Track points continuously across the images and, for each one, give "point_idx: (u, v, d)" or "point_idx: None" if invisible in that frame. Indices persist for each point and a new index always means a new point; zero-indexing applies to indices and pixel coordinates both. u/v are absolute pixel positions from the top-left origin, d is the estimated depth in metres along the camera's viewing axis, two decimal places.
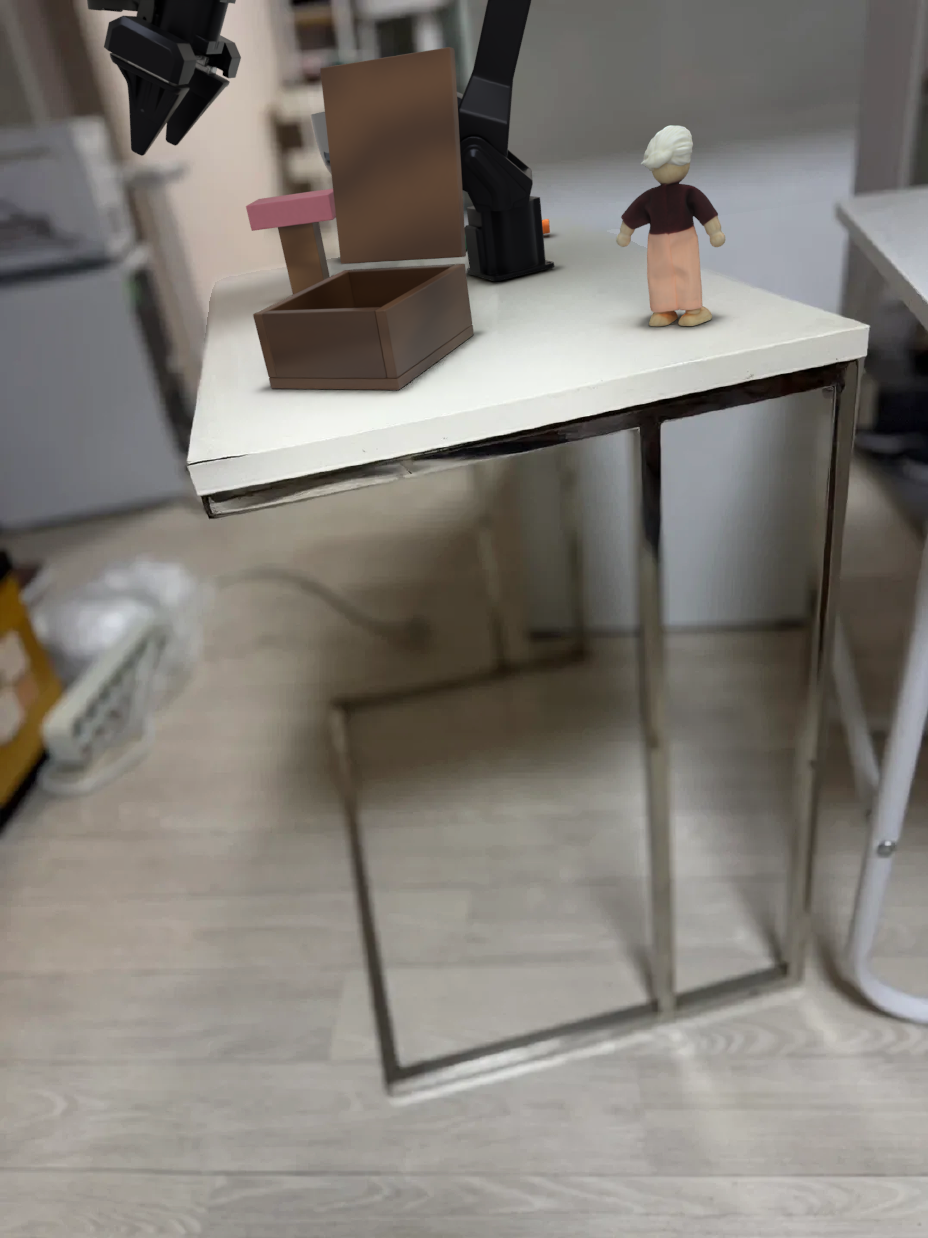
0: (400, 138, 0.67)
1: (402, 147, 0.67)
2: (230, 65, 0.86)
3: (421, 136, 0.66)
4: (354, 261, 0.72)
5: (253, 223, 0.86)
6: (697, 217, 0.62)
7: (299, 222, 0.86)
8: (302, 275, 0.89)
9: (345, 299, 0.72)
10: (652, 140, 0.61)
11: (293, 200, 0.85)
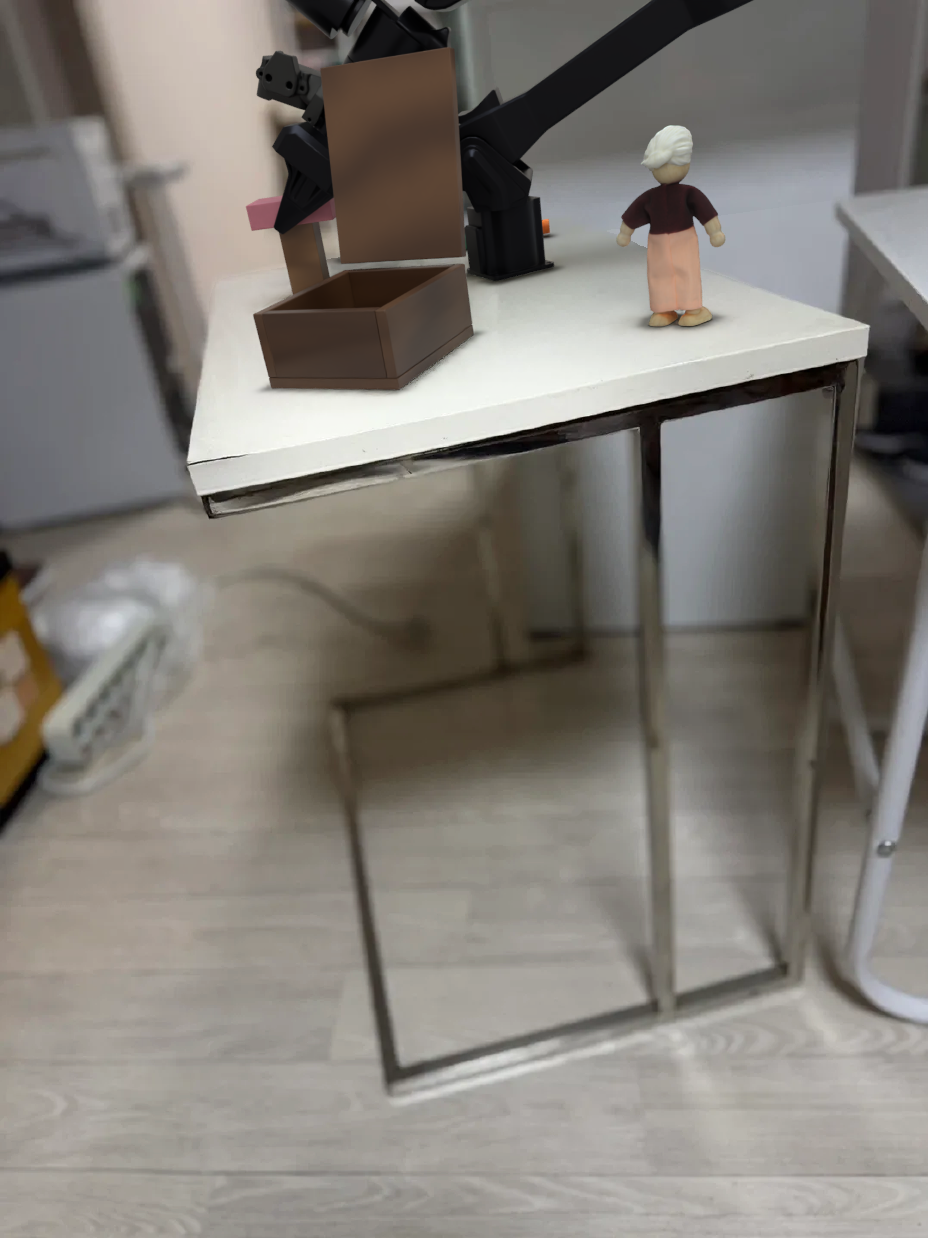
0: (400, 138, 0.67)
1: (402, 147, 0.67)
2: None
3: (421, 136, 0.66)
4: (354, 261, 0.72)
5: (253, 223, 0.86)
6: (697, 217, 0.62)
7: None
8: (302, 275, 0.89)
9: (345, 299, 0.72)
10: (652, 140, 0.61)
11: None
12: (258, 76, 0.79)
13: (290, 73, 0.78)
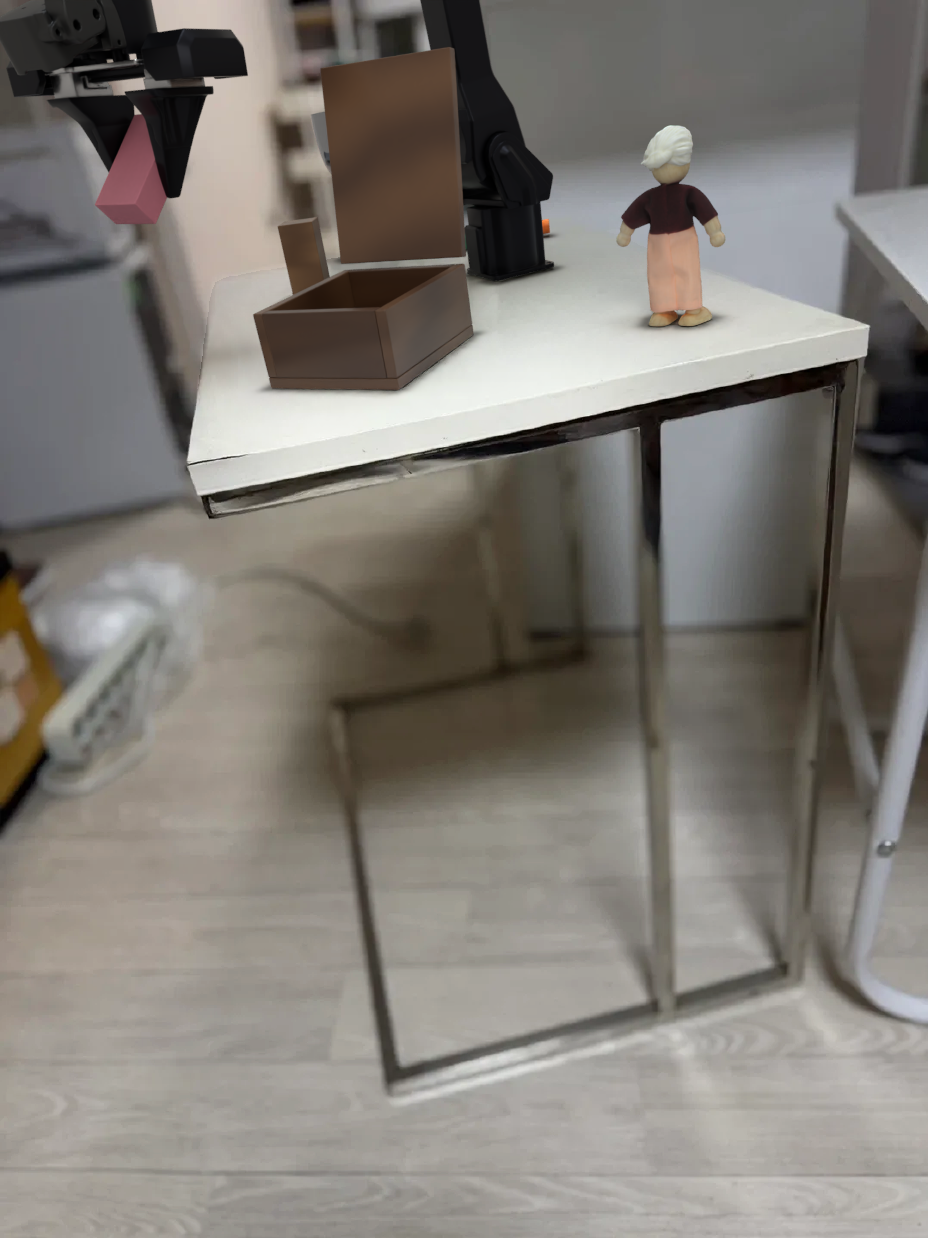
0: (400, 138, 0.67)
1: (402, 147, 0.67)
2: None
3: (421, 136, 0.66)
4: (354, 261, 0.72)
5: (151, 214, 0.67)
6: (697, 217, 0.62)
7: None
8: (302, 275, 0.89)
9: (345, 299, 0.72)
10: (652, 140, 0.61)
11: None
12: (58, 38, 0.58)
13: None
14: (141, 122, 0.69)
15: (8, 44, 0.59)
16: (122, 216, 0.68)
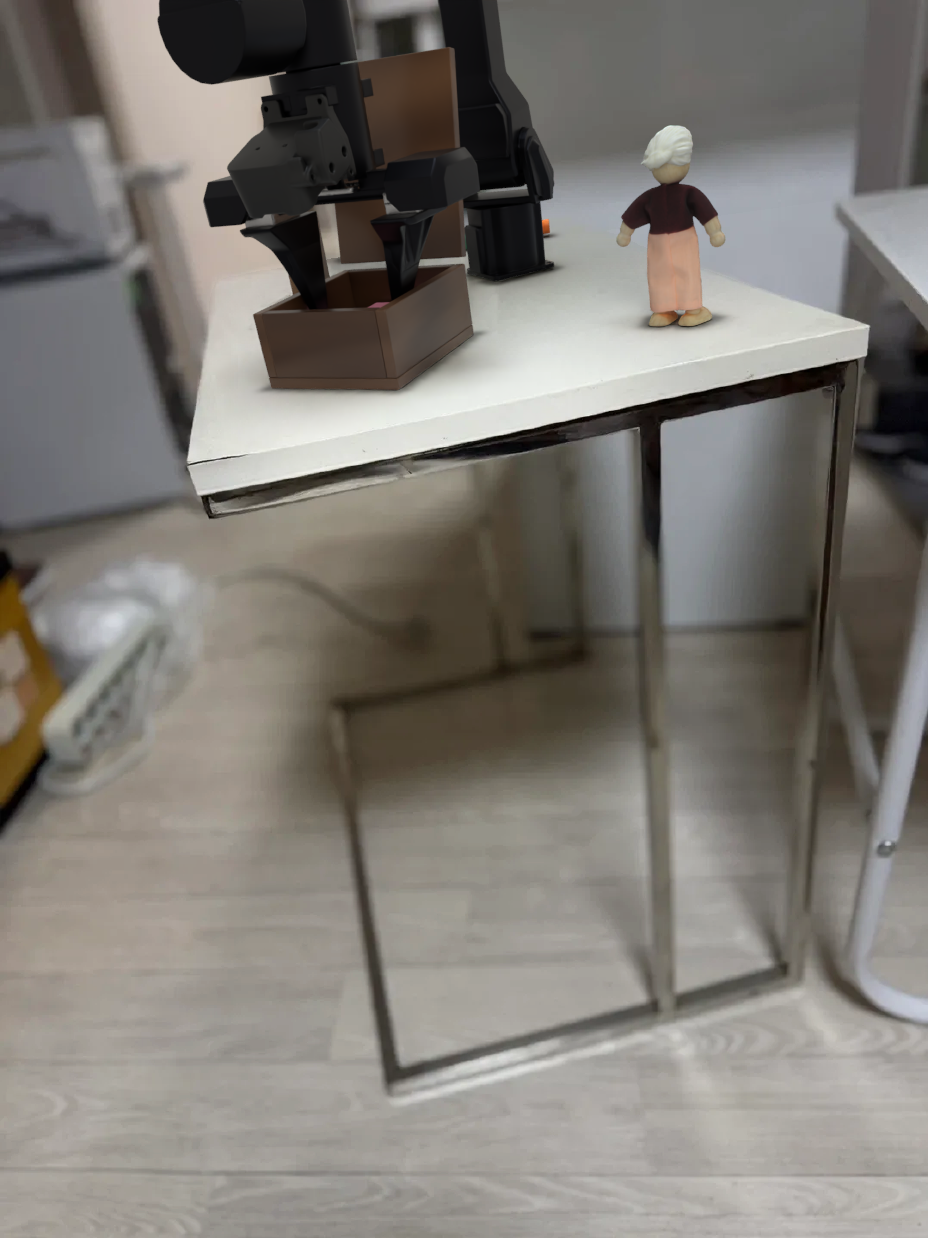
0: (400, 138, 0.67)
1: (402, 147, 0.67)
2: None
3: (421, 136, 0.66)
4: (354, 261, 0.72)
5: None
6: (697, 217, 0.62)
7: None
8: None
9: (345, 299, 0.72)
10: (652, 140, 0.61)
11: None
12: (312, 183, 0.54)
13: (338, 137, 0.54)
14: (384, 304, 0.71)
15: (248, 190, 0.55)
16: None
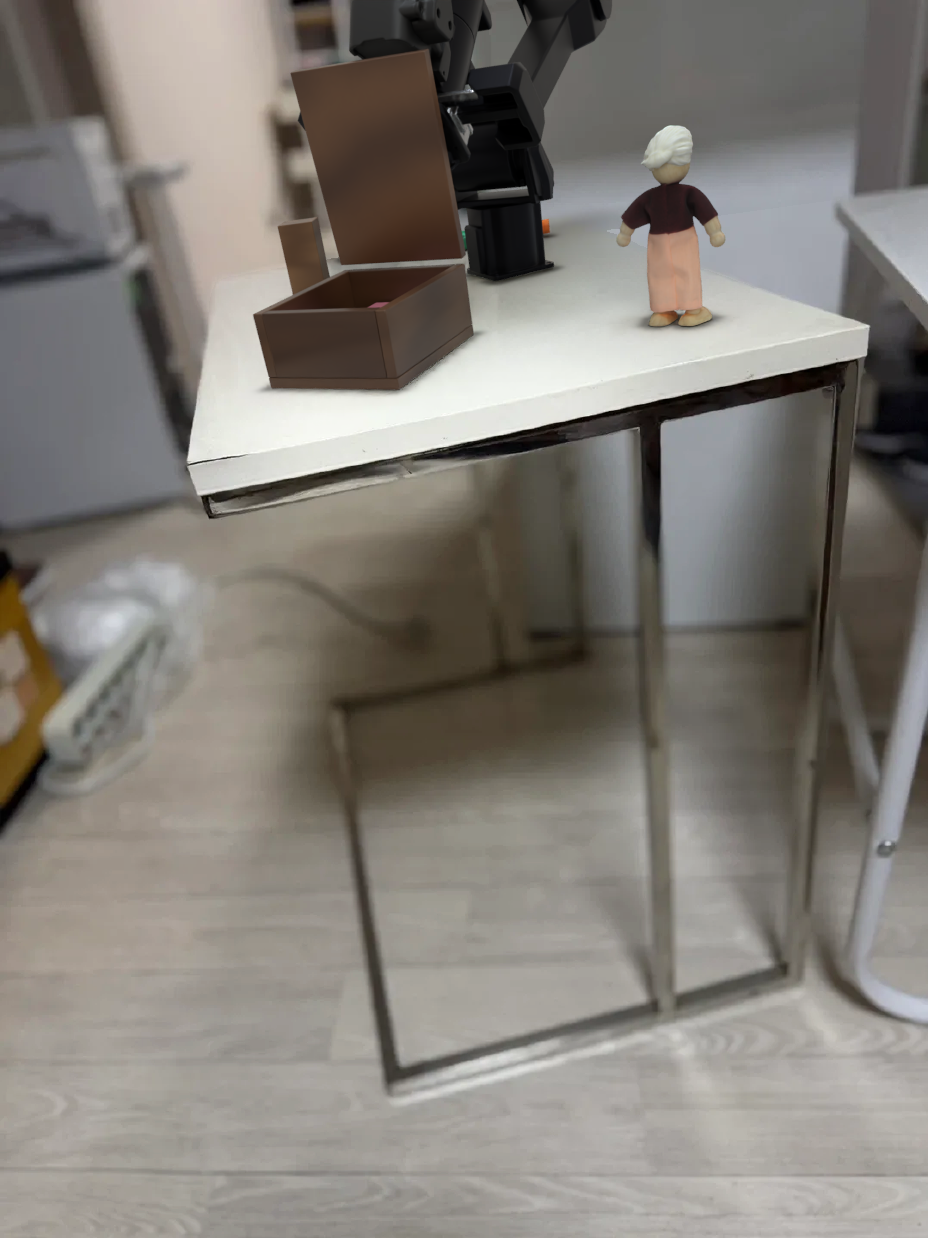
0: (384, 144, 0.65)
1: (387, 153, 0.65)
2: None
3: (406, 142, 0.64)
4: (354, 263, 0.72)
5: None
6: (697, 217, 0.62)
7: None
8: (302, 275, 0.89)
9: (345, 299, 0.72)
10: (652, 140, 0.61)
11: None
12: (419, 11, 0.62)
13: (450, 11, 0.64)
14: (384, 304, 0.71)
15: (360, 16, 0.64)
16: None
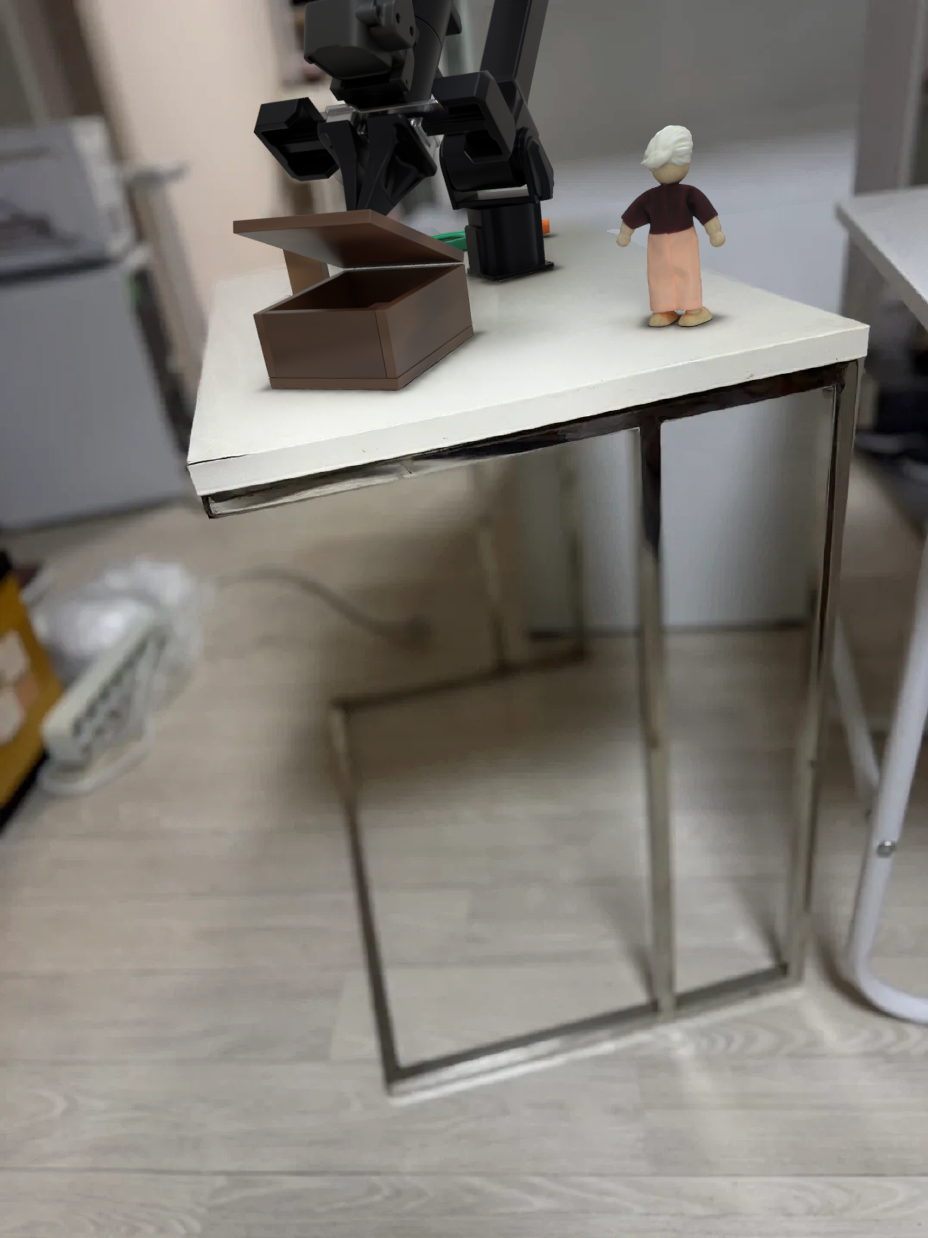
0: (354, 243, 0.63)
1: (360, 245, 0.63)
2: None
3: (376, 242, 0.62)
4: None
5: None
6: (697, 217, 0.62)
7: None
8: (302, 275, 0.89)
9: (345, 299, 0.72)
10: (652, 140, 0.61)
11: None
12: (376, 17, 0.58)
13: (411, 16, 0.60)
14: (384, 304, 0.71)
15: (315, 22, 0.59)
16: None
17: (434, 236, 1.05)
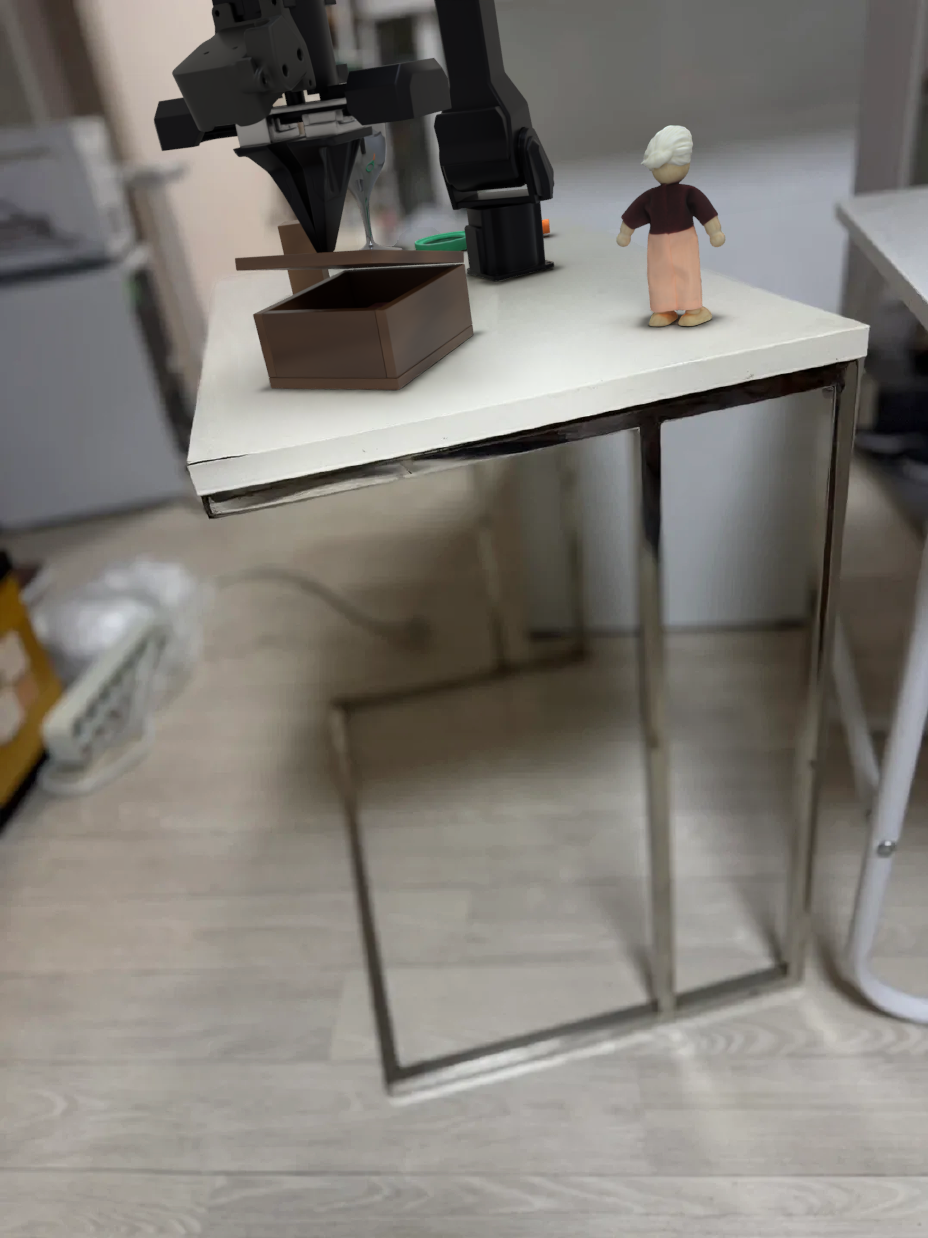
0: None
1: None
2: None
3: None
4: None
5: None
6: (697, 217, 0.62)
7: None
8: (302, 275, 0.89)
9: (345, 299, 0.72)
10: (652, 140, 0.61)
11: None
12: (264, 87, 0.49)
13: (293, 38, 0.50)
14: (384, 304, 0.71)
15: (195, 97, 0.51)
16: None
17: (434, 236, 1.05)
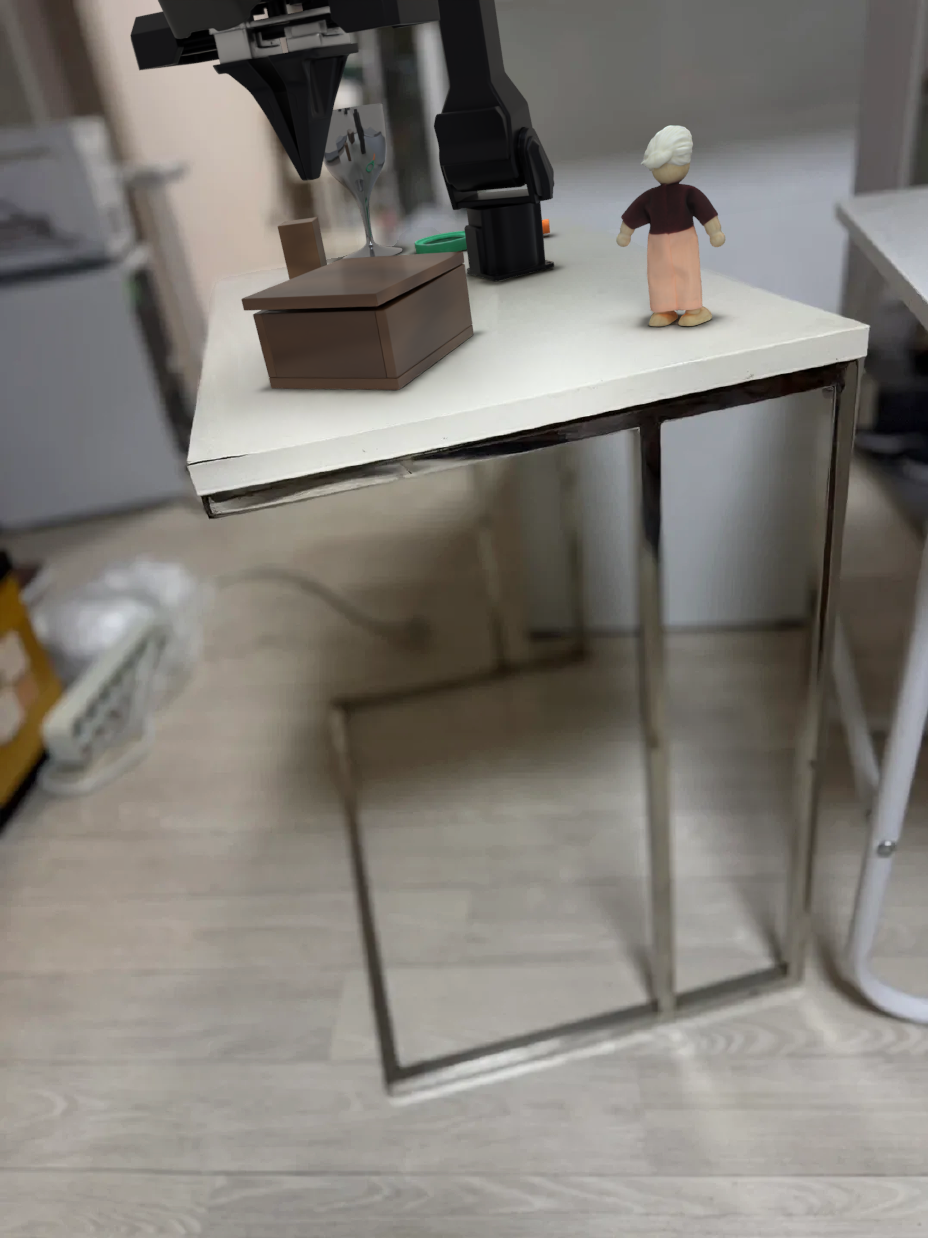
0: None
1: None
2: None
3: None
4: None
5: None
6: (697, 217, 0.62)
7: None
8: None
9: None
10: (652, 140, 0.61)
11: None
12: None
13: None
14: (384, 304, 0.71)
15: (170, 0, 0.48)
16: None
17: (434, 236, 1.05)
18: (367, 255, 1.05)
